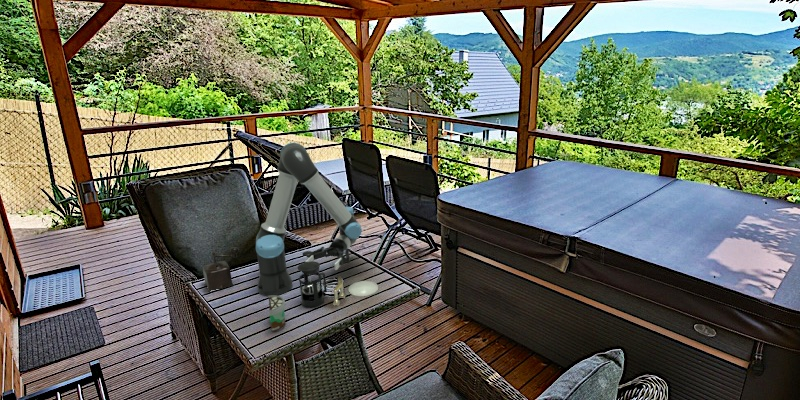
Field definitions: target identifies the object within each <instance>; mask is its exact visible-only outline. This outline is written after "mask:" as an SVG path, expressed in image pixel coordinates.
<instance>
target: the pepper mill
mask: <svg viewBox="0 0 800 400" xmlns="http://www.w3.org/2000/svg"><path fill="white" fill-rule="evenodd" d="M229 251H230V253H231V255H230V254H216V252H215V251H213V252H212V258H213V262H211V263H209V264H206V265H205V264H204V265H202V272H203V278H204V284H205V283H206V284H205V286H206V285H207V287H208V289H209V290H210V291H211V290H216V289H222V290H224V289H223V288H225V289H227V288H226V287H228V288H230V286H231V287H233V286H234V284H233V278H232V272H231V268H230V266H229V264H228V263H227V261H226V260H222V261H217V260H216V257H217V258H225V257H226V258H227V257H228V258H233V259H235V258H237V257H238V253H239V252H240V249H239V247H236V246H232V247H230V250H229ZM207 287H206V288H207ZM208 289H207V290H208Z"/></svg>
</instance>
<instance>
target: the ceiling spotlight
mask: <svg viewBox="0 0 800 400" xmlns="http://www.w3.org/2000/svg"><path fill="white" fill-rule="evenodd" d="M344 288H345V287H344V285H343V279H342V276H341V275H340V276H338V277H337V285H336V286H335V287H334V288H333V296H334V300H333V303H332V304H333V305H334V307H335V305H337V306H340V304H341V300H339V298H346V293H344V290H345V289H344ZM339 289H340V292H337V291H338V290H339ZM343 289H344V290H343ZM338 293H339V294H338Z"/></svg>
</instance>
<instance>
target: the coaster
mask: <svg viewBox="0 0 800 400" xmlns="http://www.w3.org/2000/svg"><path fill="white" fill-rule="evenodd" d="M378 291H379V285H378V284H377V283H376V282H374V281H371V280H370V281H369V280H361V281H355V282H354V283H352V284H350V285H349V286H348V292H350V293H349V294H350V295H352V296H353V297H362V298H365V297H370V296H373V295H374V294H376V293H377V292H378ZM369 295H370V296H369ZM364 296H365V297H364Z"/></svg>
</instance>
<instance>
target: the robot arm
mask: <svg viewBox="0 0 800 400" xmlns="http://www.w3.org/2000/svg"><path fill="white" fill-rule="evenodd" d="M307 151H308V150H307V149H306V147H305V146H303V145H302V144H301V143H299V142H289V143H286V144H285V145H284V146H282V148H281V150H280V152H279V156H280V158H279V161H278V165H277V168H276V169H277V171H278V174H279V175H278V178H277V181H276V184H275V188H274V191H273V196H272V197H271V198H272V199H271V201H270V206H269V210H268V212H267V216H266V219H265V222H263V223H261V225H260V228H259V231H258V232H257V235H256V238H255V252H256V256H257V263H258V271H259V277H258V282H257V291H258V293H259V294H260V295H262V296H264V297H268V296H271V295H276V296H280V295H283V294H286V293H288V292H289V291H291V290H292V288H293V285H294V284H293V279H292V277H291V275H290V274H289V273H290V272H288V270H287V261H286V254H285V243H284V241H285V238H286V233H287V229H286V228H285V225H286V222H287V219H288V215H289V211H290V209H291V205H292V201H293V198H294V194H295V191H296V187H297V185H298V182H299V184H300V185H304V186H305V188H307V189H308V191H309V192H310V193H311V194H312V195H313V197H314V198H315V199H316V200H317V202H318V203H319V204H320V205H321V206H322V207H323V208H324V209H325V211H326V212H327V213H328V214H329V216H330V217H331V218H332V219H333V220H334V222H336V223H337V225H338V228H339V231H338V232H339V236H337V237H336V238H335V239H334V240H333V241H332V242H331V243H330V245H329V247H327V248H325V247H324V246H321V247H320V248H318V249H315V250H313V251H312V252H313V253H312V254H311V255H309V257H306V260H305V261H304V262H308V259H309V262H310V261H313V262H315V260H318V259H322V258H329V257H336V258H337V260H336V261H335V263H334V264H333V265H334V267H333V268H334V271H337V270H338V269H339V268H340V267H341V266H343V265H344V264H346V263H347V264H349V263H350V261H351V259H350V247H352V245H354V243H356V241H357V240H358V238H359V237H360V236H361V235H362V231H363V229H362V226H361V224H360V223H359V222H358V221H357V219H356V217H355V213H354V208H353V207H351V206H345V204H343V202H342V201H341V199H339V198H338V196H337V195H336V194H335V192H334V191H333V190H332V189H331V187H330V186H329V185H328V184H327V182H326V181H325V180H324V179H323V178H322V177H321V175H320V174H319V169H318V168H317V166H316V165H315V163H314V162H313V160H312V158H311V156H310V154H309V153H308V152H307Z"/></svg>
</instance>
